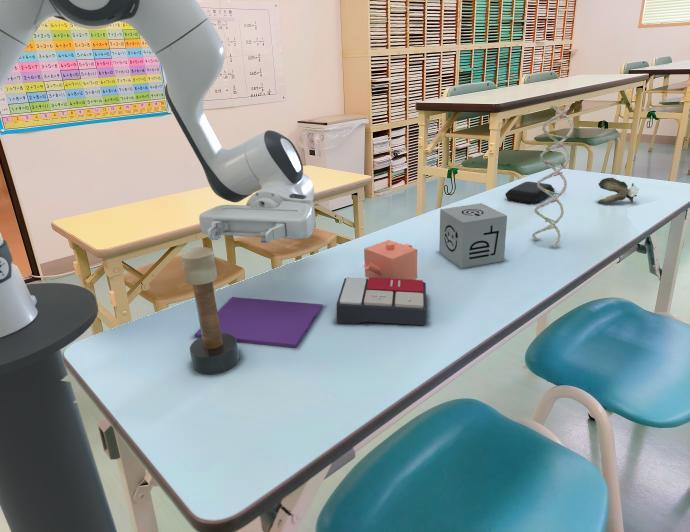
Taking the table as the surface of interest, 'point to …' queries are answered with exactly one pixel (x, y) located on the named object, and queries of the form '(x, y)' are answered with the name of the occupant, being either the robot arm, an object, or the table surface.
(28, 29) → the robot arm
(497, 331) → the table surface
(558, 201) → the dna model
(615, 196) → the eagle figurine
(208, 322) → the wooden rod on disc
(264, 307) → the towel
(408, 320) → the dark paneled box
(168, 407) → the table surface
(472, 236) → the icon cube
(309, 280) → the table surface
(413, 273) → the pink cube teapot
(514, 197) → the carrying case
